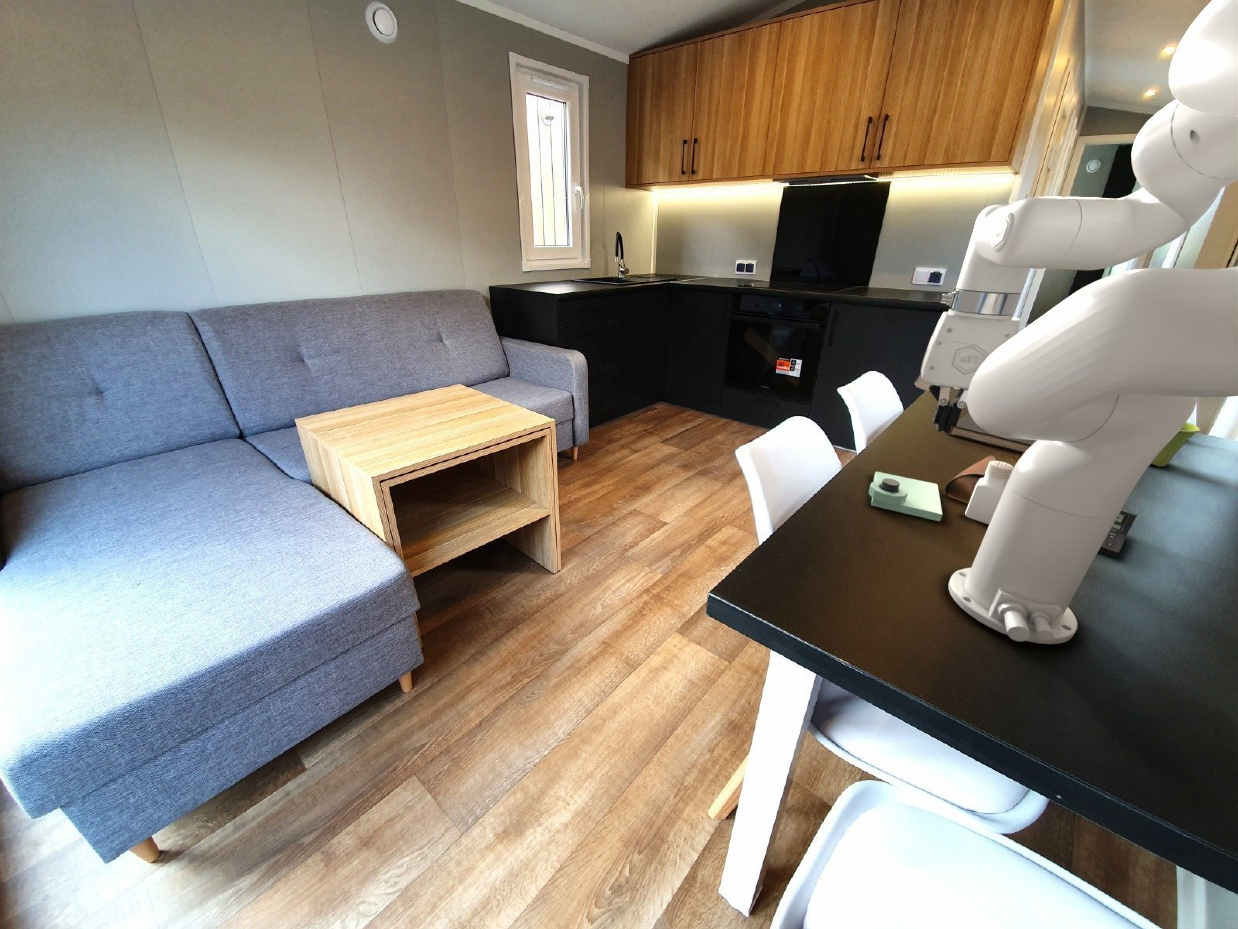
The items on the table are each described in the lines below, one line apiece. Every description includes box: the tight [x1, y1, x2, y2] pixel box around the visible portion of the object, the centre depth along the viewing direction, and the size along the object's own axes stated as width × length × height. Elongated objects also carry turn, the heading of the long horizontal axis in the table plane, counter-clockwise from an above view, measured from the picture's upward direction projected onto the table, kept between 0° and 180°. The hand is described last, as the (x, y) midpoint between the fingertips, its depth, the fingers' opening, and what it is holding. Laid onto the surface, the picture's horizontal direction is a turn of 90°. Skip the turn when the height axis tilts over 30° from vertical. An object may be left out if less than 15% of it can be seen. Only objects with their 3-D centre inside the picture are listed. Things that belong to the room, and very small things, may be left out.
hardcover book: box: [948, 412, 1037, 455], centre depth 115 cm, size 16×23×2 cm
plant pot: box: [1150, 421, 1201, 467], centre depth 101 cm, size 9×9×9 cm
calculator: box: [1098, 510, 1137, 558], centre depth 76 cm, size 9×12×3 cm
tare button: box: [880, 478, 900, 493], centre depth 81 cm, size 3×3×2 cm
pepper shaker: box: [964, 460, 1015, 525], centre depth 77 cm, size 4×4×10 cm
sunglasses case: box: [944, 455, 998, 505], centre depth 88 cm, size 18×7×7 cm, turn 129°
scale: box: [868, 470, 943, 522], centre depth 84 cm, size 13×11×3 cm
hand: (942, 429), depth 75 cm, fingers closed
